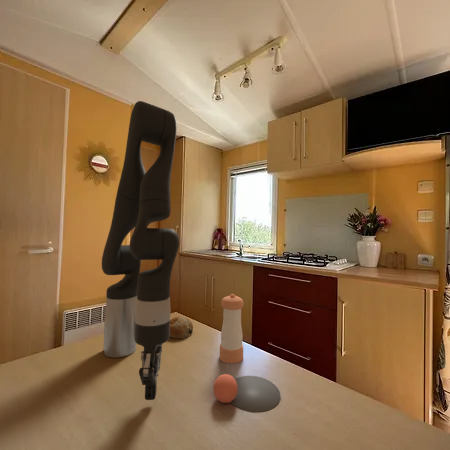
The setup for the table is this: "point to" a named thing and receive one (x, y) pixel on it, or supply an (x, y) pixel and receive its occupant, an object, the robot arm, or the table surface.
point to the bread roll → (180, 327)
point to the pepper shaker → (231, 330)
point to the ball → (225, 388)
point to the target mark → (256, 394)
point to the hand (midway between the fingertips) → (150, 397)
